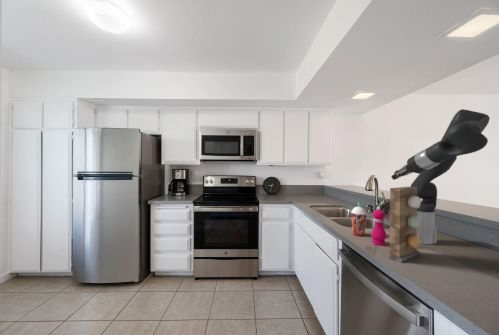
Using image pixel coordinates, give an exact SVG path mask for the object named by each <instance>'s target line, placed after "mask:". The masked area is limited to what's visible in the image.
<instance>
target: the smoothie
mask: <svg viewBox="0 0 499 335" xmlns="http://www.w3.org/2000/svg"><path fill="white" fill-rule="evenodd" d="M350 214H351V216H350V218H351V233H352V234H353V235H354V236H356V235H357V237H363V235H365V234H366V222H367V221H366V220H367V212H366V210H365V209H364V208H363V207H362V206H360V202H357V206H355V207H353V208H352V210H351V211H350Z"/></svg>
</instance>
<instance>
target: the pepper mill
mask: <svg viewBox="0 0 499 335" xmlns="http://www.w3.org/2000/svg"><path fill="white" fill-rule="evenodd" d="M372 217H373V221H374V226H373V229H372V230H371V232H370V236H371V238H372V239H371V242H372V244H373V245H376V246H382V247H384V246H386V239H387V233H386V230H385V228H384V222H385V218H386V213H385V211H384V210H382V209H381V207H380V206H377V207H376V209H375V210H373V211H372Z"/></svg>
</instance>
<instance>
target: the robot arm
mask: <svg viewBox="0 0 499 335" xmlns="http://www.w3.org/2000/svg"><path fill="white" fill-rule="evenodd" d="M489 122H490V116H489V115H488V114H486V113H483V112H478V111H474V110H470V109H459V110H458V111H457V112H456V113H455V115H453V117H452V119H451V121H450V122H449V124H448V126H447V129H446V130H445V132H444V134H443V136H442V137H441V139H440V141H437V142H435V143H433V144H432V145H430V146H429V147H427V148H424V149H422V150H421V151H420V152H417V153H415V154H414V155H413V156H411V157H409V158H408V159H407V160H406V164H405V165H403V166H402V167H401V168H400V169H396V170H395V171H394V172H393V174H392V175H391V179H392V180H397V179H400V178H401V177H406V176H408V175H410V174H414V173H415V174H417V175H418V176H416V178H415V179H414V180H413V182H412V183H411V185H410V186H409V187H417V197H419V198H420V200H421V203H420V207H419V208H417V217H419V218H420V226H419V228H417V237H419V238H420V244H424V245H434V244H435V245H436V244H437V226H436V225H435V223H436V220H435V217H436V216H435V215H436V214H435V213H436V212H435V210H436V207H437V199H438V188H437V185H436V184H435V183H433V180H435V179H437V178H438V177H441V176H442V175H444V174H445V173H447V172H448V171H449V170H450V169H451V168H452V166H453V165H454V164H455V162H456V160H457V159H458V158H457V157H458V156H459V157H460V156H462V155H463V156H464V155H468V154H473V153H476V152H479V151H481V150H482V149H484V148H485V147H486V146H487V144H488V141H489V139H488V138H487V137H486V136H485V135H484V134H483V133H482V132H483V131H485V129H486V127H487V126H488V124H489Z"/></svg>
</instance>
